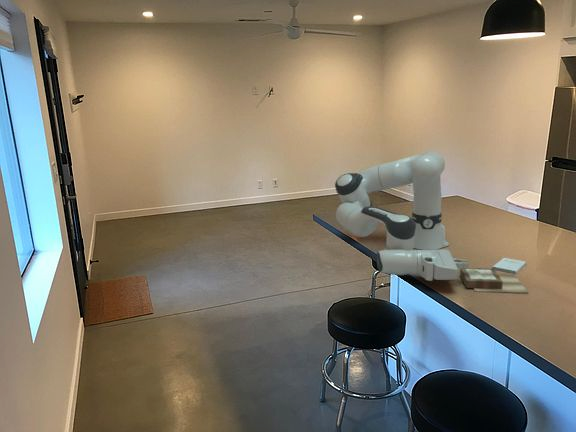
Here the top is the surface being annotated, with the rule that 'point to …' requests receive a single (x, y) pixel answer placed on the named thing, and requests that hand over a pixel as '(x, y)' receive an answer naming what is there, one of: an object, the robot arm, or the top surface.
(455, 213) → the top surface
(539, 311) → the top surface
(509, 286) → the beige square tray
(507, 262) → the external hard drive
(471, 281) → the walnut picture frame
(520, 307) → the top surface
